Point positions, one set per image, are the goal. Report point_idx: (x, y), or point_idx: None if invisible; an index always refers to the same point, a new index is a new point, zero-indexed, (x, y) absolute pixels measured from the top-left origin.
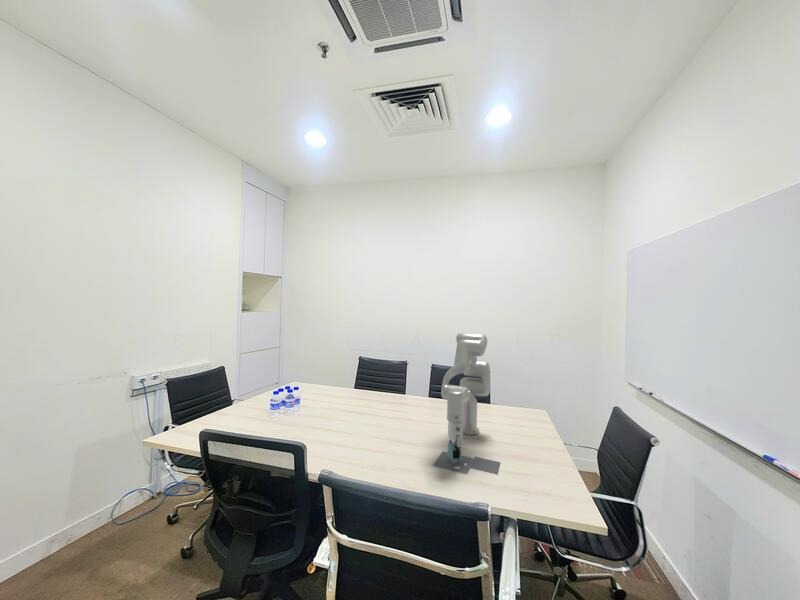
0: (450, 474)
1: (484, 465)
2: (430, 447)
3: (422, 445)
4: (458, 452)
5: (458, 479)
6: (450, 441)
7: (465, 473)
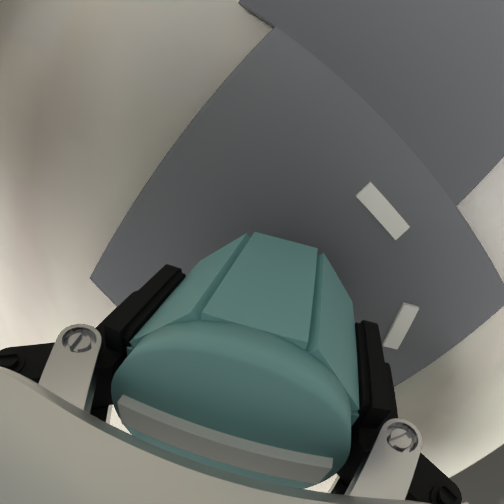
0: (421, 387)
1: (452, 23)
2: (44, 304)
3: (34, 329)
4: (395, 411)
5: (492, 366)
6: (110, 410)
7: (496, 304)
